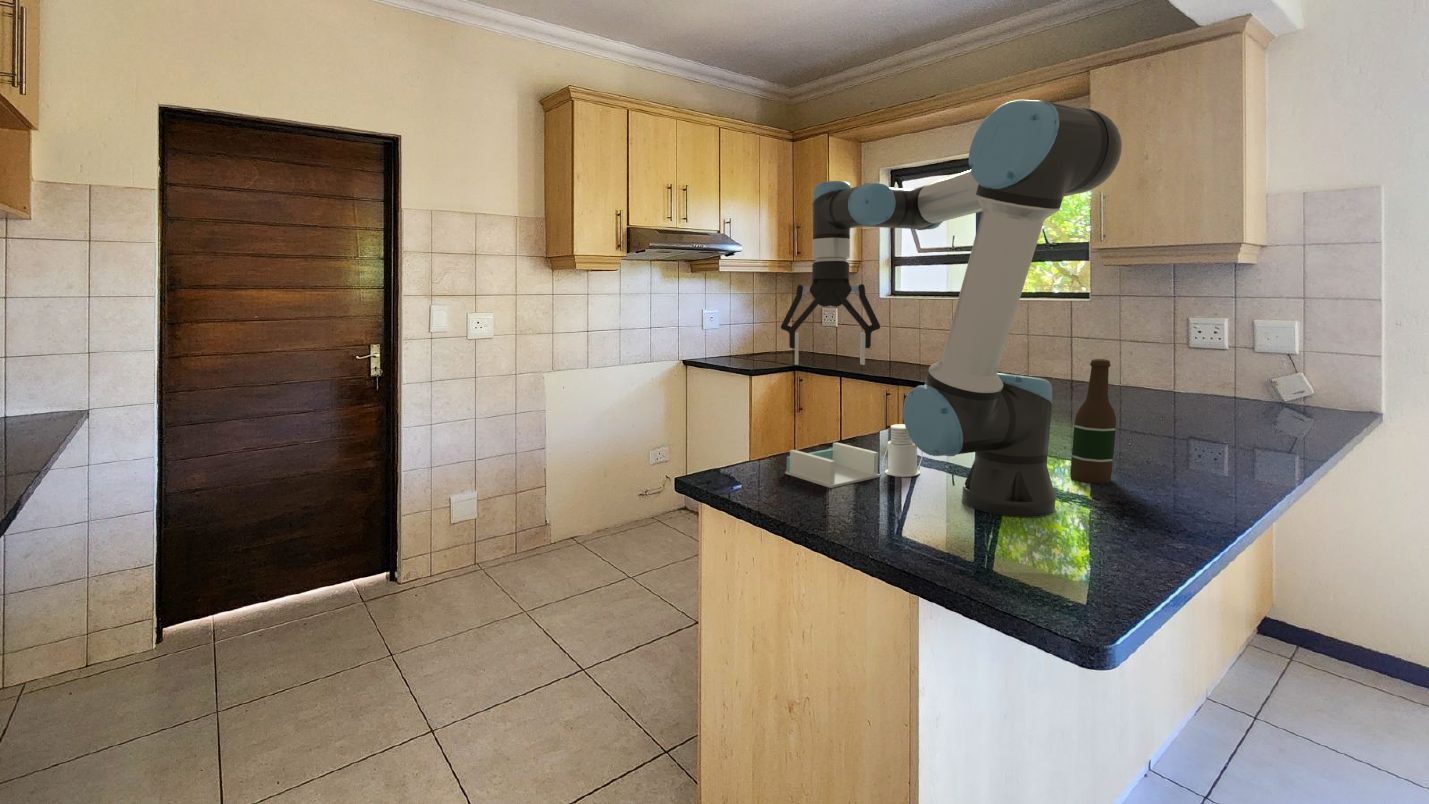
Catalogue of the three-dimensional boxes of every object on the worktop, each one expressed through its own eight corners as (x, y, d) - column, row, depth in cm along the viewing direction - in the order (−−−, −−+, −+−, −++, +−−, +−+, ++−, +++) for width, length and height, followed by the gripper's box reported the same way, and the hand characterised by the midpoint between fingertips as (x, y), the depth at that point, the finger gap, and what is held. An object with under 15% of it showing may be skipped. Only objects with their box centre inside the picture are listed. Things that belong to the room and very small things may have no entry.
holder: (880, 476, 143) (881, 452, 142) (830, 488, 134) (831, 462, 134) (833, 464, 153) (834, 441, 152) (785, 473, 145) (785, 449, 144)
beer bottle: (1101, 474, 145) (1112, 358, 141) (1119, 485, 137) (1131, 361, 133) (1062, 473, 145) (1071, 357, 142) (1077, 483, 138) (1088, 361, 134)
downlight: (919, 469, 149) (919, 422, 147) (925, 477, 142) (925, 429, 140) (880, 469, 149) (880, 423, 148) (885, 478, 143) (884, 430, 141)
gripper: (890, 261, 147) (888, 362, 150) (770, 262, 150) (770, 362, 153) (895, 258, 139) (892, 365, 142) (769, 260, 142) (768, 365, 145)
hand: (829, 364), depth 147 cm, fingers open, 13 cm apart
